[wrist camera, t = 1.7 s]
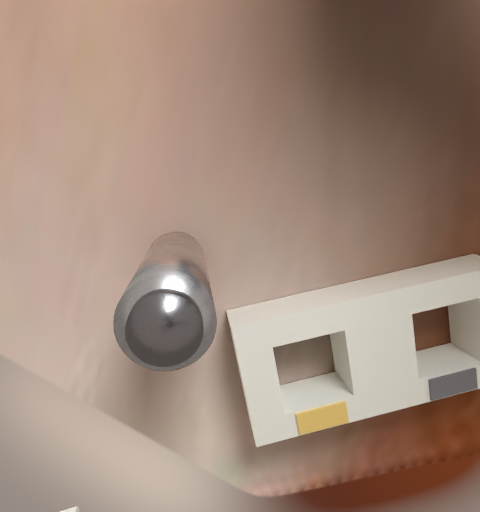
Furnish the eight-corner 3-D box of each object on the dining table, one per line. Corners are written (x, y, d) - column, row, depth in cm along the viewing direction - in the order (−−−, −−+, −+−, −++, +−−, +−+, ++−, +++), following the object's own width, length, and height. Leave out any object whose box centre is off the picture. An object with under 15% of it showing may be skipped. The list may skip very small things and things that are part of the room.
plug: (141, 238, 30) (96, 292, 15) (197, 226, 30) (205, 269, 16) (155, 292, 31) (125, 391, 16) (209, 280, 31) (227, 366, 17)
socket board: (225, 310, 32) (231, 329, 28) (472, 253, 34) (512, 263, 30) (249, 419, 34) (257, 452, 30) (479, 360, 36) (517, 383, 32)
